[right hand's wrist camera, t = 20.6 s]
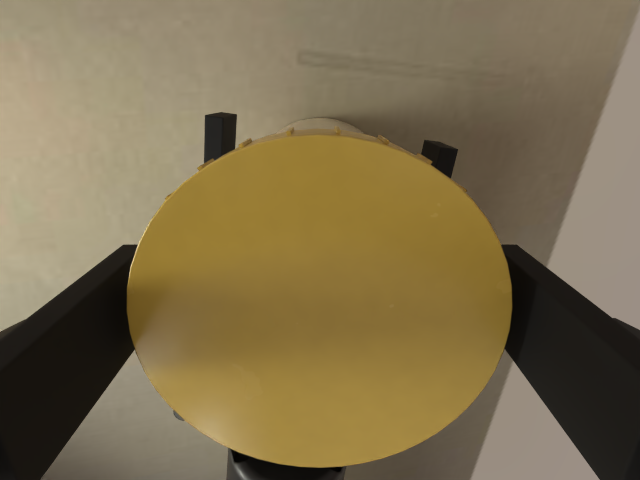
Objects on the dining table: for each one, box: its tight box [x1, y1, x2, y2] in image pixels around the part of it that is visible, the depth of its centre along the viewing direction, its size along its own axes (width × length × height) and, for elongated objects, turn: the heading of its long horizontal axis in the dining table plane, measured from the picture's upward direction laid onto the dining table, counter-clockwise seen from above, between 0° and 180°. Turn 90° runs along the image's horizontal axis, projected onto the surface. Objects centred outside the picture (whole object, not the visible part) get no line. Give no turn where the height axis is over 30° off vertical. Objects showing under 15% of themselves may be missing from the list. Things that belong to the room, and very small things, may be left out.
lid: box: [127, 126, 512, 468], centre depth 11 cm, size 10×10×2 cm
